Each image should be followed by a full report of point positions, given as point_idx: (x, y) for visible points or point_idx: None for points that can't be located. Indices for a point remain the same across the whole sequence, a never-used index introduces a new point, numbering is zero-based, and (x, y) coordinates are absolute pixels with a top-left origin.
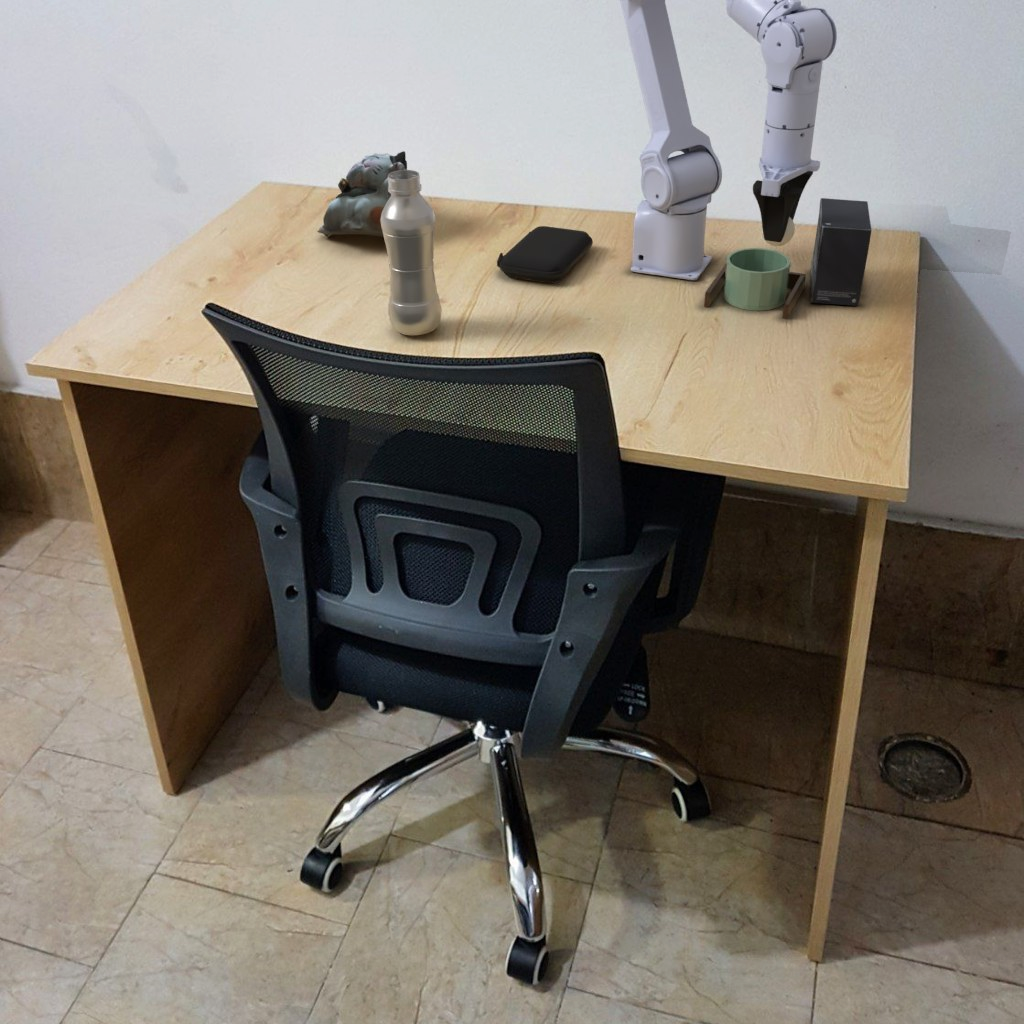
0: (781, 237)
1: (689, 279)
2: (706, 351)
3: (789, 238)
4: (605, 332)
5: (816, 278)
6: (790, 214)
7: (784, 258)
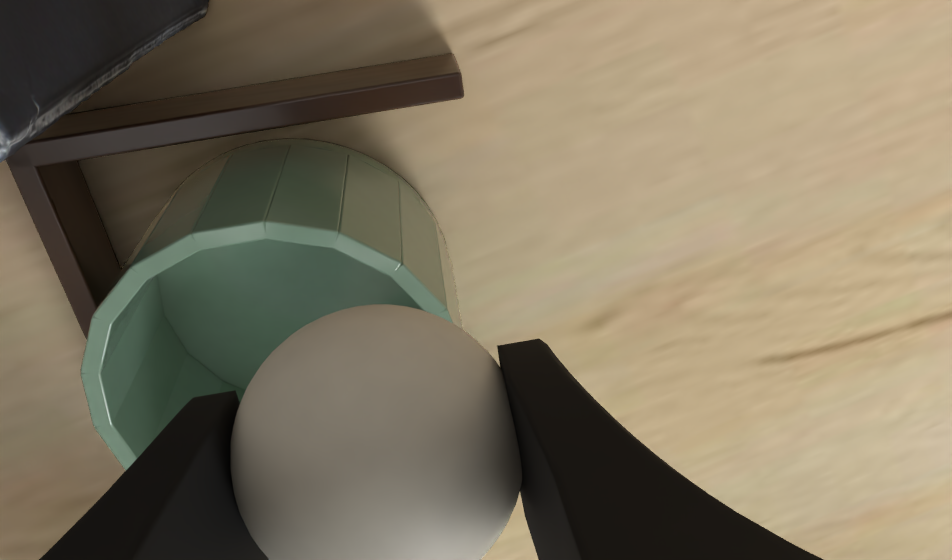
0: (558, 360)
1: None
2: (895, 234)
3: (422, 312)
4: (835, 556)
5: (168, 24)
6: (202, 489)
7: (139, 289)
